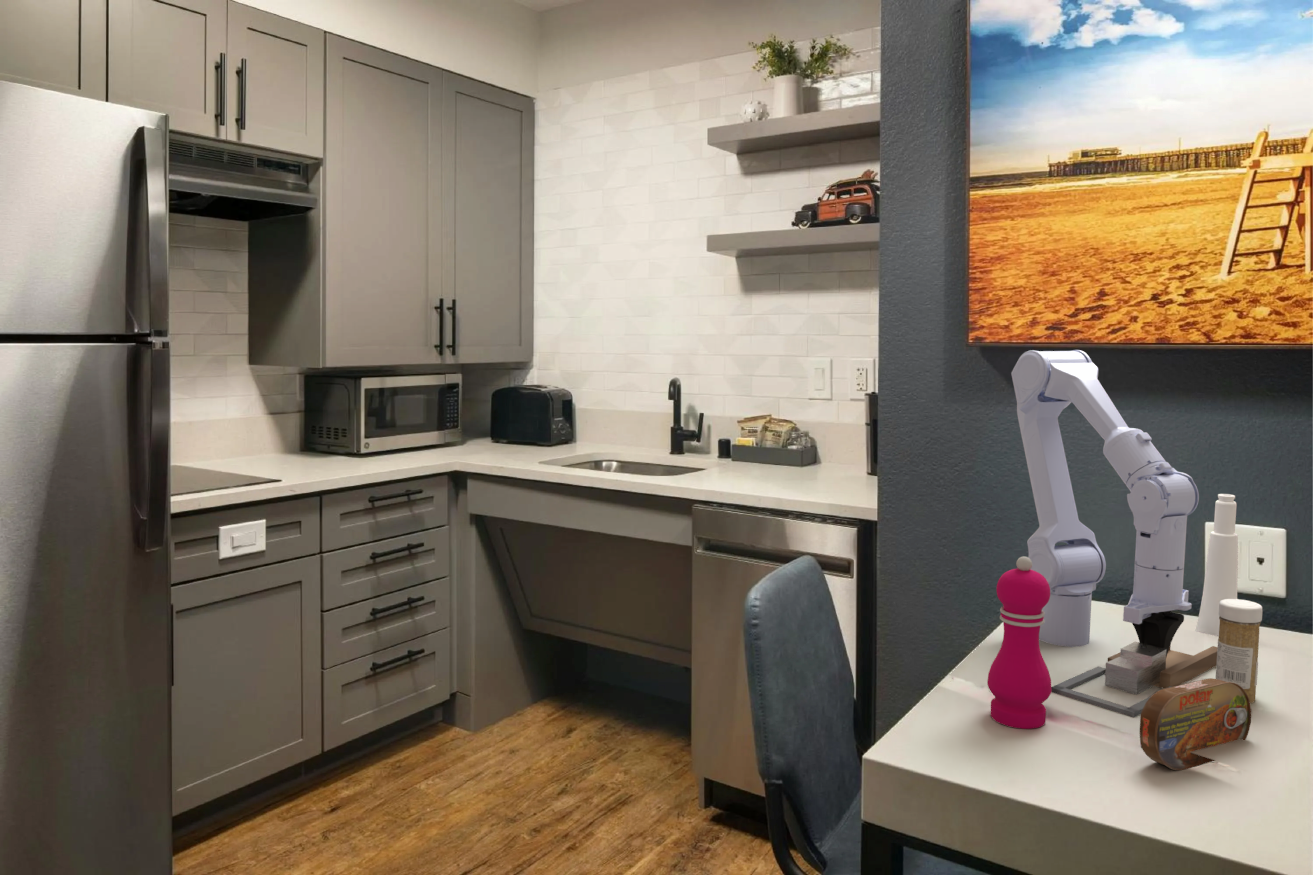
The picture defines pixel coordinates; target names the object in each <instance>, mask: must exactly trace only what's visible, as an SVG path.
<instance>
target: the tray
mask: <svg viewBox="0 0 1313 875" xmlns="http://www.w3.org/2000/svg"><path fill="white" fill-rule="evenodd" d="M1105 671H1106V667H1103V666H1099V665H1097V666H1096V667H1094V668H1091V669H1089V670H1086V671H1084V672H1082V673H1080V674H1077V675H1076V676H1073V677H1071V678H1068V679H1067V680H1064V681H1061V682H1059V683H1058V684H1055V685H1053V686H1052V685H1051V690H1052V691H1051V693H1054V694H1057V695H1061V696H1063V697H1067V698H1070V699H1074V700H1076V701H1080V702H1083V703H1086V704H1090V705H1093V706H1097V707H1099V708H1103V709H1106V710H1109V711H1112V712H1114V713H1115V712H1116V713H1118V714H1122V715H1125V716H1128V717H1132V718H1136V717H1138V716H1139V715H1140V716H1141V712H1142V710H1143V707H1144V705H1145V704H1146V702H1147V701H1148V699H1149V698H1150V697H1151V696H1152V695H1150V696H1148V697H1146V698H1144V699H1142V700H1140V701H1138V702H1136V703H1135V704H1133V705H1130V706H1126V705H1123V704H1119V703H1116V702H1113V701H1109V700H1107V699H1104V698H1099V697H1096V696H1093V695H1089V694H1086V693H1082V692H1079V691H1077V690H1073V689H1074V688H1076V687H1078V686H1081V685H1083V684H1085V683H1087V682H1089V681H1092V680H1094V679H1096V678H1099V677H1100V676H1103V675H1105ZM1170 687H1172V686H1169V687H1167V688H1170Z"/></svg>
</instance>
